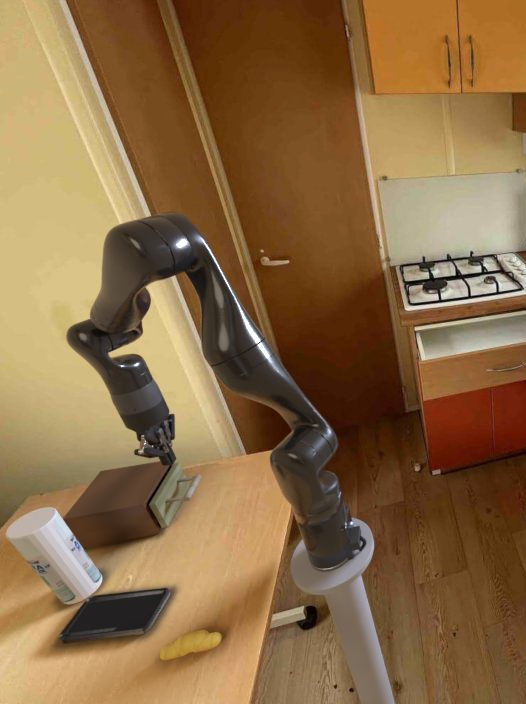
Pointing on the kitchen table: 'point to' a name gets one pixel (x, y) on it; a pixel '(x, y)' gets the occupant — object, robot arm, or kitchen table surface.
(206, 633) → the yellow cheese puff
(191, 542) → the kitchen table surface
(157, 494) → the drawer
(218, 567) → the kitchen table surface
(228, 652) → the kitchen table surface
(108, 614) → the phone
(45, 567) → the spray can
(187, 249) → the robot arm
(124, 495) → the cabinet
